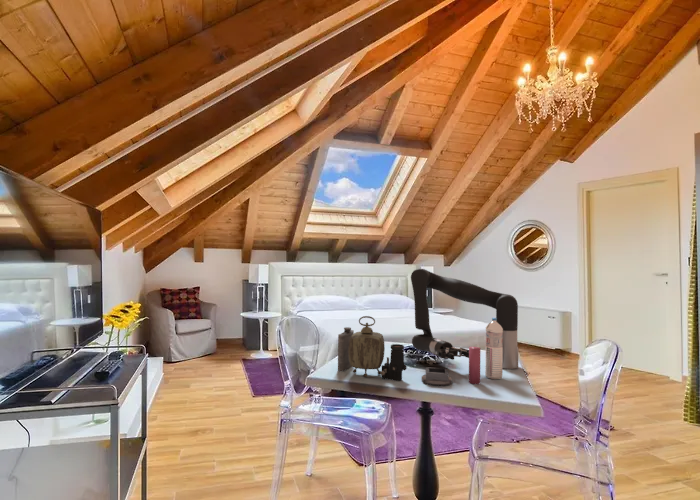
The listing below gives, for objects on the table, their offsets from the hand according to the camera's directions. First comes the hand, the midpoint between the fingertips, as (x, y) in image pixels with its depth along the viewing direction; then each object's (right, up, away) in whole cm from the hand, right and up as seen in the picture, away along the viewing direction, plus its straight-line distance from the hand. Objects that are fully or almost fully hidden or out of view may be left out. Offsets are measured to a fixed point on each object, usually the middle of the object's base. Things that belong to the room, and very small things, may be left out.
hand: (462, 356), depth 176 cm
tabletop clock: (-41, -8, -1) cm, 41 cm away
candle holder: (-12, -8, -7) cm, 17 cm away
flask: (-49, -8, +12) cm, 51 cm away
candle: (+3, -9, -8) cm, 12 cm away
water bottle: (+13, -9, -1) cm, 16 cm away
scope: (-29, -8, -5) cm, 31 cm away
